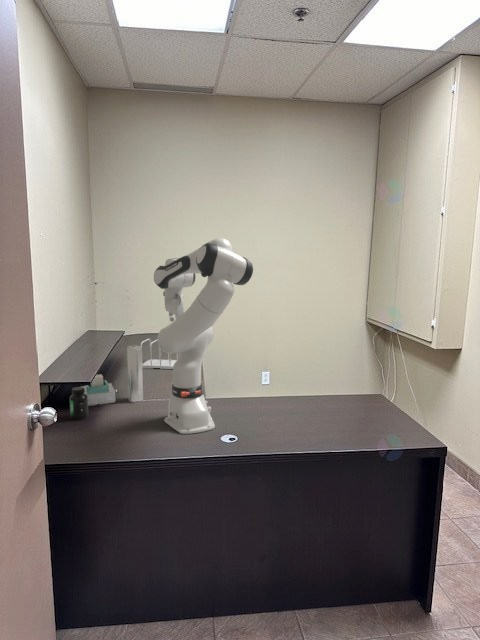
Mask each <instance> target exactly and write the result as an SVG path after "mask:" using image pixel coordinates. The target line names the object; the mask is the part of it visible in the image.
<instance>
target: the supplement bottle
mask: <svg viewBox="0 0 480 640" xmlns="http://www.w3.org/2000/svg"><path fill="white" fill-rule="evenodd" d="M68 400H69V415H70V416H69V417H70V419H71V420H73V421H79V420H80V421H81V420H84V419H87V418H88V417H89V406H88V397H87V395H86V394H85V389H84V387H81V386H75V387H72V388H71V395H70V396H69V399H68Z"/></svg>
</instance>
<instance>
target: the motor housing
mask: <svg viewBox="0 0 480 640" xmlns="http://www.w3.org/2000/svg"><path fill="white" fill-rule="evenodd" d="M80 387H84V389H85V394H86V395H87V397H88V407H90V406H96V405H97V406H98V404H99V405H106V404H115V403H116V397H117V396H119V389H118V388H114V386H113V384H112V382H110V383H109V382H108V380H106V379H103V386H93V387H91V385H90V386H89V385H83V386H82V385H81V386H80Z"/></svg>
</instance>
